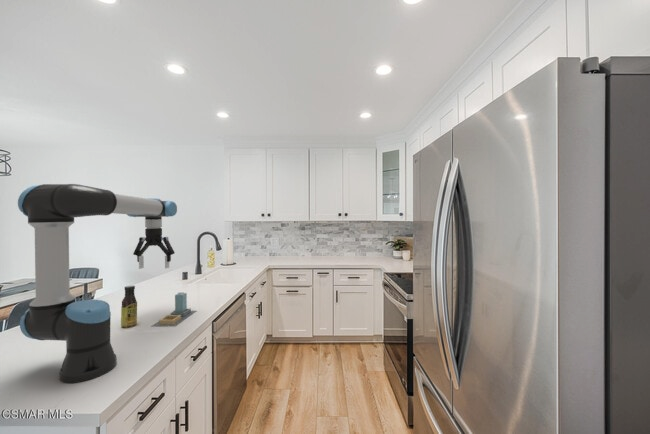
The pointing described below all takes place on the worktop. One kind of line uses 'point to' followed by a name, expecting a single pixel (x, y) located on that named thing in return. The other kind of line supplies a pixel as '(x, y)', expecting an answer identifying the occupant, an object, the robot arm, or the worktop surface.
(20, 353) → the worktop surface
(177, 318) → the socket board
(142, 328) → the worktop surface
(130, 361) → the worktop surface
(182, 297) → the plug
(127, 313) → the sauce bottle
